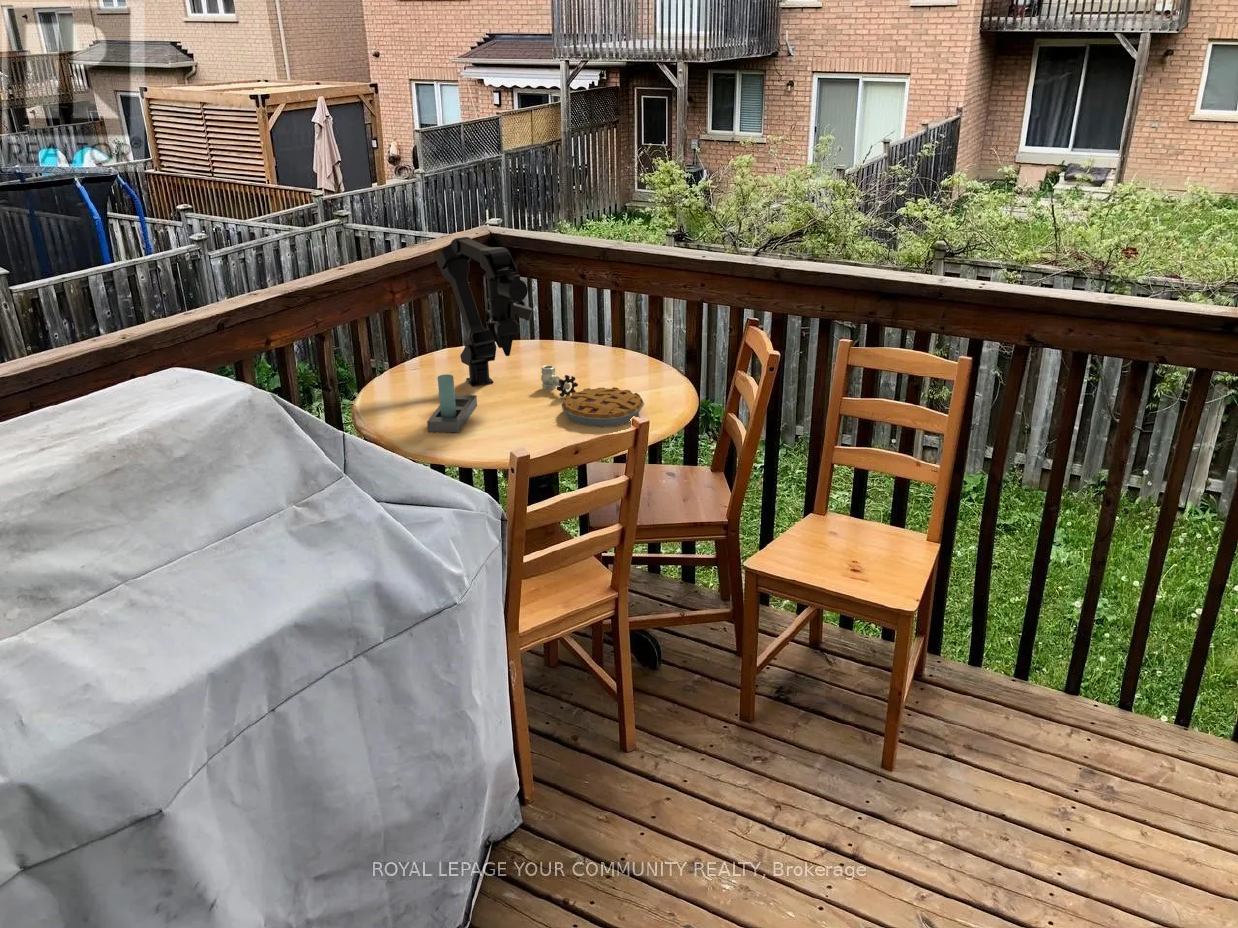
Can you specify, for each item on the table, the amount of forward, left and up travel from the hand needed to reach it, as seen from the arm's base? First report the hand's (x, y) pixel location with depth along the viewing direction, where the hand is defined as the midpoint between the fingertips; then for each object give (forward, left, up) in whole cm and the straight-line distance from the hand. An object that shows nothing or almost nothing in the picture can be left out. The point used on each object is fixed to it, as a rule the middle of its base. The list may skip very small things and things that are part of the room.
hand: (504, 351), depth 275 cm
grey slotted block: (+11, -18, -13) cm, 25 cm away
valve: (+3, +14, -13) cm, 19 cm away
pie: (+25, +19, -13) cm, 34 cm away
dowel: (+14, -20, -13) cm, 28 cm away
